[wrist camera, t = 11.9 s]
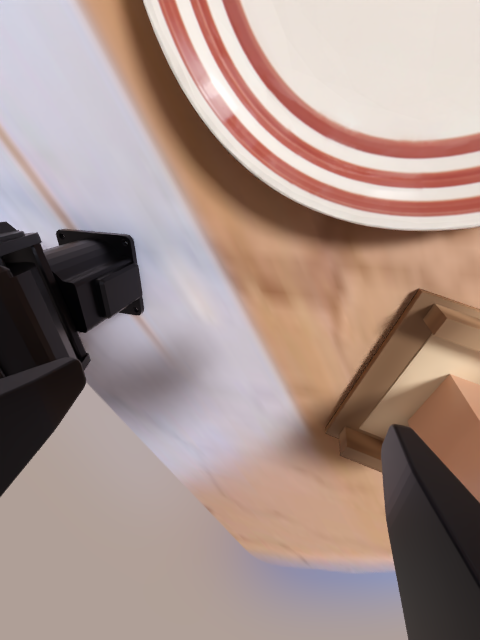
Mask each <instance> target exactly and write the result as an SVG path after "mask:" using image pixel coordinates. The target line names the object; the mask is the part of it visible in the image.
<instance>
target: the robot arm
mask: <svg viewBox="0 0 480 640" xmlns="http://www.w3.org/2000/svg"><path fill="white" fill-rule="evenodd" d="M63 235H64V236H65V237H64V236H63ZM56 236H57V240H58V243H59V246H57V247H53V248H49V249H46V250H43V249H42V247H41V244H40V243H41V239H40V237H39V234H38V233H26V234H24V232H23V231H19V230H16V229H15V228H13V227H12V226H11V225H10V224H8V223H7V222H0V496H2V494H3V493H4V492H5V491H6V489H7V488H8V487H9V486H10V485H11V483H12V482H13V481H14V480H15V478H16V477H17V476H18V475H19V474H20V472H21V471H22V470H23V469H24V467H25V466H26V465H27V463H29V461H30V460H31V459H32V457H33V456H34V455H35V454H36V453H37V451H38V450H39V449H40V448H41V447H42V445H43V444H44V443H45V442H46V440H47V439H48V438H49V437H50V436H51V434H52V433H53V432H54V430H55V429H56V428H57V426H58V425H59V423H60V422H61V421H62V419H63V418H64V416H65V414H66V413H67V412H68V410H69V409H70V407H71V406H72V404H73V403H74V402H75V400H76V398H77V397H78V396H79V394H80V393H81V391H82V390H83V388H84V386H85V384H86V378H85V374H84V370H85V368H86V367H87V365H88V364H89V362H90V361H91V359H90V357H89V354H88V353H86V351H85V349H84V347H83V344H82V342H81V339H80V337H79V335H78V333H80V332H83V333H86V332H88V331H89V330H91V329H92V328H94V327H95V326H96V325H98V324H99V323H101V322H102V321H104V320H105V319H107V318H111V317H113V316H114V315H115V314H117V313H118V312H119V313H125V314H132V315H140V314H141V313H143V311H144V305H143V299H142V288H141V281H140V274H139V268H138V265H137V259H136V252H135V246H134V241H133V238H132V237H131V236H130V235H127V234H115V233H104V232H93V231H82V230H71V229H61V230H58V231H57V233H56ZM125 239H126V240H127V242H128V245H127V244H126V243H125ZM136 308H138V310H137V309H136ZM381 461H382V474H383V487H384V500H385V512H386V521H387V527H388V533H389V538H390V544H391V549H392V554H393V560H394V565H395V571H396V576H397V581H398V587H399V592H400V597H401V602H402V608H403V613H404V619H405V624H406V629H407V634H408V640H480V502H479V501H478V500H477V499H476V498H475V497H474V496H473V495H472V494H471V492H470V491H469V490H468V489H467V488H466V487H465V486H464V485H463V484H462V483H461V482H460V480H459V479H458V478H457V477H456V476H455V475H454V474H453V473H452V472H451V471H450V469H449V468H448V467H447V466H446V465H445V464H444V463H443V462H442V461H441V460H440V459H439V457H438V456H437V455H436V454H435V453H434V452H433V451H432V450H431V449H430V448H429V446H428V445H427V444H426V443H425V442H424V441H423V440H422V439H421V438H420V437H419V436H418V434H417V433H416V432H415V431H414V430H413V429H412V428H410V427H408V426H404V425H399V424H392V425H391V426H390V427H389V429H388V432H387V434H386V437H385V439H384V442H383V444H382V448H381Z"/></svg>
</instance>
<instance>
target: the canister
mask: <svg viewBox="0 0 480 640" xmlns="http://www.w3.org/2000/svg"><path fill="white" fill-rule="evenodd" d="M408 424H409V427H410V428H412V429H413V430H414V431H415V432H416V433H417V434H418V436H419V437H420V438H421V439H422V440H423V441H424V442H425V443H426V444H427V445H428V446H429V448H430V449H431V450H432V451H433V452H434V453H435V454H436V455H437V456H438V457H439V459H440V460H441V461H442V462H443V463H444V464H445V465H446V466H447V467H448V468H449V469H450V471H451V472H452V473H453V474H454V475H455V476H456V477H457V478H458V479H459V480H460V482H461V483H462V484H463V485H464V486H465V487H466V488H467V489H468V490H469V491H470V492H471V494H472V495H473V496H474V497H475V498H476V499H477V500H478V501H479V502H480V385H479V384H476V383H473V382H470V381H468V380H465V379H462V378H460V377H457V376H454V375H451V374H449V375H448V376H447V378H446V379H445V380H444V381H443V382H442V383H441V384H440V385H439V386H438V388H437V389H436V390H435V391H434V392H433V393H432V394H431V395H430V397H429V398H428V399H427V400H426V401H425V402H424V403H423V404H422V405H421V407H420V408H419V409H418V410H417V411H416V412H415V413H414V414H413V416H412V417H411V418H410V419H409V420H408Z"/></svg>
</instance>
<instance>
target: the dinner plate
mask: <svg viewBox="0 0 480 640" xmlns="http://www.w3.org/2000/svg"><path fill="white" fill-rule="evenodd" d="M143 3H144V6H145V9H146V11H147V14H148V17H149V19H150V22H151V25H152V27H153V30H154V32H155V35H156V37H157V40H158V42H159V44H160V47H161V49H162V51H163V53H164V56H165V58H166V60H167V62H168V64H169V66H170V68H171V70H172V72H173V74H174V75H175V77H176V79H177V81H178V83H179V85H180V87H181V88H182V90H183V92H184V93H185V95H186V97H187V98H188V100H189V101H190V103H191V105H192V106H193V108H194V109H195V110H196V112H197V113H198V115H199V116H200V118H201V119H202V120H203V122H204V123H205V124H206V126H207V127H208V128H209V130H210V131H211V132H212V133H213V135H214V136H215V137H216V138H217V139H218V141H219V142H220V143H221V144H222V145H223V146H224V148H225V149H226V150H227V151H228V152H229V153H230V154H231V155H232V156H233V157H234V158H235V159H236V160H237V161H238V162H239V163H241V164H242V165H243V166H244V167H245V168H246V169H247V170H248V171H250V172H251V173H252V174H253V175H254V176H256V177H257V178H258V179H260V180H261V181H262V182H264V183H265V184H267V185H268V186H269V187H271V188H272V189H274V190H275V191H277V192H279V193H280V194H282V195H284V196H285V197H287V198H289V199H291V200H293V201H295V202H297V203H299V204H301V205H303V206H305V207H307V208H309V209H311V210H314V211H316V212H319V213H322V214H324V215H327V216H330V217H333V218H336V219H340V220H343V221H347V222H351V223H355V224H359V225H364V226H369V227H376V228H383V229H390V230H406V231H443V230H457V229H468V228H475V227H480V0H143Z"/></svg>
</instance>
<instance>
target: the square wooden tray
mask: <svg viewBox="0 0 480 640" xmlns="http://www.w3.org/2000/svg"><path fill="white" fill-rule="evenodd" d="M449 374H451V375H454V376H457V377H460V378H462V379H465V380H468V381H470V382H473V383H476V384H479V385H480V309H477V308H474V307H471V306H468V305H466V304H463V303H460V302H457V301H454V300H451V299H448V298H445V297H442V296H440V295H437V294H434V293H431V292H428V291H425V290H422V289H419V290H418V291H417V293H416V294H415V296H414V297H413V299H412V300H411V302H410V303H409V305H408V306H407V308H406V309H405V311H404V312H403V314H402V315H401V317H400V318H399V320H398V321H397V323H396V324H395V326H394V327H393V329H392V330H391V331H390V333H389V334H388V336H387V337H386V339H385V340H384V342H383V343H382V345H381V346H380V348H379V349H378V351H377V352H376V354H375V355H374V357H373V358H372V360H371V361H370V363H369V364H368V366H367V367H366V369H365V370H364V372H363V373H362V375H361V376H360V378H359V379H358V381H357V382H356V384H355V385H354V386H353V388H352V389H351V391H350V392H349V394H348V395H347V397H346V398H345V400H344V401H343V403H342V404H341V406H340V407H339V409H338V410H337V412H336V413H335V415H334V416H333V418H332V419H331V421H330V422H329V424H328V425H327V427H326V434H328V435H331V436H333V437H336V438H338V439H339V445H340V456H342V457H345V458H347V459H350V460H352V461H355V462H357V463H360V464H362V465H365V466H367V467H369V468H372V469H374V470H377V471H379V472H382V461H381V448H382V444H383V442H384V439H385V437H386V434H387V432H388V429H389V427H390V426H391V425H392V424H399V425H404V426H408V427H409V424H408V420H409V419H410V418H411V417H412V416H413V414H414V413H415V412H416V411H417V410H418V409H419V408H420V407H421V405H422V404H423V403H424V402H425V401H426V400H427V399H428V398H429V397H430V395H431V394H432V393H433V392H434V391H435V390H436V389H437V388H438V386H439V385H440V384H441V383H442V382H443V381H444V380H445V379H446V378H447V376H448V375H449Z"/></svg>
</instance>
